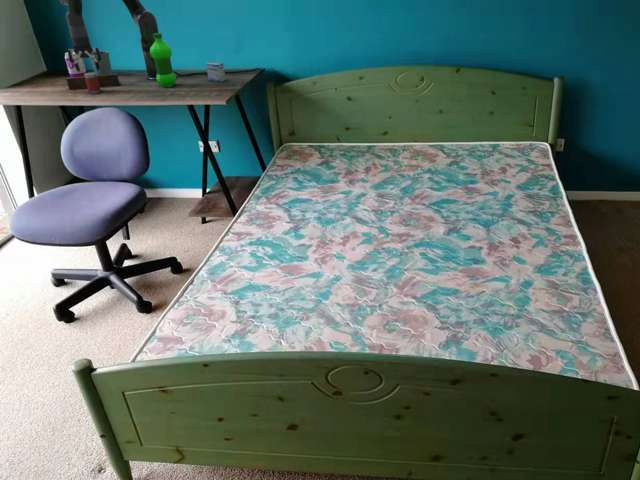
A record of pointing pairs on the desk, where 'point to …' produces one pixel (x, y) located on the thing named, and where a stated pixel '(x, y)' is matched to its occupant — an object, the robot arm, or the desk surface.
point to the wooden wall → (102, 79)
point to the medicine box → (215, 72)
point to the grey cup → (102, 63)
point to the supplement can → (72, 68)
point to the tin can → (92, 83)
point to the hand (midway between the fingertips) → (88, 70)
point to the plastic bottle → (162, 61)
